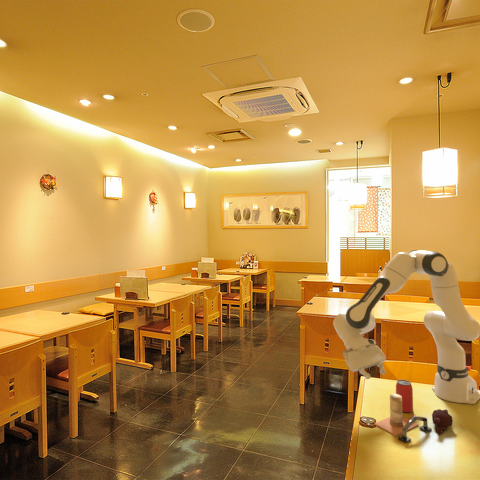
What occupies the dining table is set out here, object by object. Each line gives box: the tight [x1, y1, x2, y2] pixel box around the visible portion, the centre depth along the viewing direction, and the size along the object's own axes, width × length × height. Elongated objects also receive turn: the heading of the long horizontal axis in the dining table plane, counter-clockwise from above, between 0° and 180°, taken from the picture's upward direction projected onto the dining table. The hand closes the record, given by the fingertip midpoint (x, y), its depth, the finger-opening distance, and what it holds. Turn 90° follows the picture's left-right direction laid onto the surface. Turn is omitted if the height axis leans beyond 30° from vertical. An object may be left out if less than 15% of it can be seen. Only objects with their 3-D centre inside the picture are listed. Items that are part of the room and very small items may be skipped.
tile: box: [374, 416, 420, 437], centre depth 136 cm, size 14×10×1 cm
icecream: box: [431, 408, 454, 435], centre depth 134 cm, size 7×7×15 cm
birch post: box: [389, 393, 403, 427], centre depth 136 cm, size 5×5×11 cm
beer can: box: [395, 379, 414, 414], centre depth 148 cm, size 7×7×12 cm
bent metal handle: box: [397, 415, 432, 444], centre depth 129 cm, size 16×3×7 cm, turn 120°
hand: (376, 375), depth 144 cm, fingers open, 8 cm apart
